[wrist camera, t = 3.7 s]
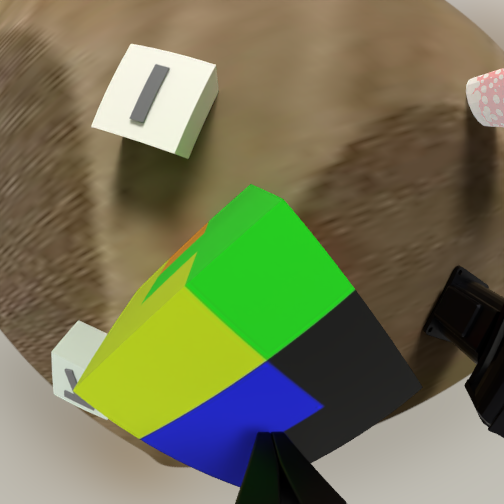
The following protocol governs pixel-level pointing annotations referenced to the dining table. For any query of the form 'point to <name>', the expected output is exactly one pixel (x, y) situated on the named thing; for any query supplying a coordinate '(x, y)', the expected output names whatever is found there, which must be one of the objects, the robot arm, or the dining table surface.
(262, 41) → the dining table surface
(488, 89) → the beverage cup
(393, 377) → the puzzle toy
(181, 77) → the digit block one
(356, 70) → the dining table surface
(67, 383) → the digit block seven
